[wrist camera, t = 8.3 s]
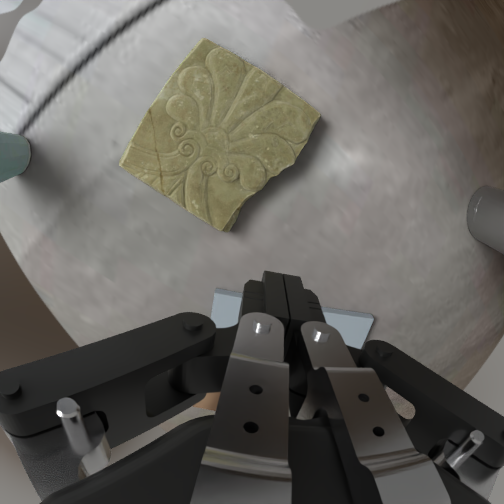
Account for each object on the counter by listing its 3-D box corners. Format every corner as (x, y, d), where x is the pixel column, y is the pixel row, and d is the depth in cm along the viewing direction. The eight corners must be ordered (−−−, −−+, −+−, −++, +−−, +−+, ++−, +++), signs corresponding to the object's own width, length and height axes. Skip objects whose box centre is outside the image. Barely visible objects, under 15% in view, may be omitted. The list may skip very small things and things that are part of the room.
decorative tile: (123, 163, 37) (112, 165, 34) (206, 41, 32) (202, 32, 28) (234, 239, 41) (232, 247, 37) (325, 118, 35) (331, 115, 31)
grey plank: (371, 314, 43) (374, 318, 42) (341, 379, 48) (343, 385, 47) (216, 288, 42) (214, 292, 41) (205, 361, 47) (203, 367, 46)
